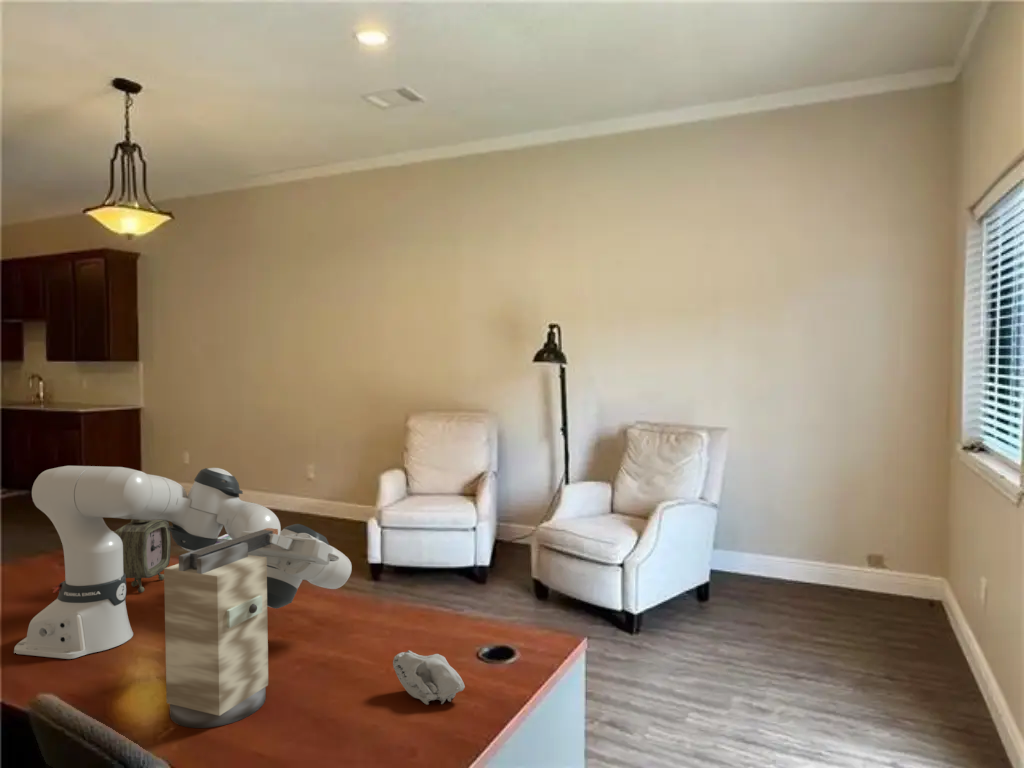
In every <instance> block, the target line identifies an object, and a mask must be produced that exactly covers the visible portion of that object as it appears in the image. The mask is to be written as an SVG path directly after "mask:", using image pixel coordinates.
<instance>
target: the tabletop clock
mask: <svg viewBox="0 0 1024 768" xmlns="http://www.w3.org/2000/svg"><path fill="white" fill-rule="evenodd" d="M169 522H170V521H168V520H136V519H130V522H128V523H126V524H124V525H123V526H121V527H119V528H118V529H116V530H114V531H113V532H114V533H116V534H117V535H118V536H119V537H120V538H121V540H122V543H123V572H124V573H125V574H126V579H133V580H132V582H131V583H130V584H131V587H132V588H133V587H134V588H135V586H136V587H137V586H138V588H137V592H138V593H139V594H143V593H144V591H145V588H144V586H143V585H142V579H151V578H153V577H155V576H158V580H159V581H164V573H162V572H164V568H167V567H169V564H170V561H171V551H172V550H171V545H172V540H171V531H169V530H168V526H170V523H169Z"/></svg>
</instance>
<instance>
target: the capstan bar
mask: <svg viewBox="0 0 1024 768" xmlns="http://www.w3.org/2000/svg"><path fill="white" fill-rule="evenodd" d="M269 533H271V534H276V535H278V529H273V528H266V529H263V530H260V531H257V532H254V533H251V534H248V535H245V536H242V537H239V538H236V539H233V540H230V541H227V542H224V543H221V544H218V545H215V546H211V547H208V548H205V549H202V550H199V551H196V552H193V553H190V568H196V569H197V558H199V557H202V556H205V555H208V554H211V553H214V552H217V551H220V550H223V549H225V548H228V547H231V546H234V545H237V544H240V543H243V542H244V543H248V552H251V551H253V550H256V549H259V548H262V547H264V546H267V545H270V544H269V543H267V542H266V538H267V535H268V534H269Z"/></svg>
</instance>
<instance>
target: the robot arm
mask: <svg viewBox="0 0 1024 768" xmlns="http://www.w3.org/2000/svg"><path fill="white" fill-rule="evenodd" d="M193 481H194V482H193V483H192V485H191V488H190V490H189V492H188V494H187V491H186V489H185V487H184V486H183V485H181V484H180V483H178V482H177V481H175V480H173V479H170V478H168V477H165V476H161V475H156V474H149V473H146V472H144V471H141V470H137V469H134V468H130V467H123V466H102V465H101V466H100V465H99V466H98V465H97V466H95V465H92V466H91V465H64V466H58V467H54V468H49V469H46V470H44V471H42V472H41V473H40V474H38V476H37V477H36V479H35V480H34V482H33V485H32V487H31V498H32V502H33V504H34V506H35V507H36V508H37V509H38V510H40V511H41V512H42V513H43V514H45V515H46V517H47V518H48V519H49V520H50V521H51V522H52V524H53V526H54V528H55V530H56V532H57V534H58V536H59V539H60V541H61V543H62V544H61V545H62V549H63V556H64V557H63V559H64V571H65V574H64V576H65V577H64V579H65V580H63V581H62V582H61V583H59V584H58V585H56V586H54V587H52V589H54V590H53V592H52V593H57V592H58V596H57V598H56V599H54V601H52V602H50V604H49V605H47V606H46V607H45V608H43V609H42V610H41V611H39V612H38V613H37V614H36V615H35V616H34V617H33V618H32V619H31V620H30V622H29V624H28V628H27V633H26V637H25V638H23V639H22V640H20V641H19V642H18V643H16V645H15V646H14V649H13V654H15V653H16V654H17V655H25V656H36V657H45V658H54V659H66V660H71V659H72V660H73V659H77V658H79V657H83V656H85V655H89V654H94V653H97V652H98V653H99V652H102V651H103V652H104V651H107V650H109V649H110V650H111V649H113V648H116V647H118V646H120V645H123V644H125V643H127V642H128V641H130V640H131V639H132V638H133V637H134V632H133V630H132V627H131V623H130V620H129V616H128V610H127V605H126V604H127V602H126V598H127V578H126V574H125V573H124V572H123V543H122V540H121V538H120V537H119V536H118V535H117V534H116V533H114V532H115V531H113V530H112V529H110V527H108V525H107V524H106V521H105V520H104V518H111V519H112V518H113V519H123V520H132V519H136V520H167V521H168V522H171V524H172V525H169V526H168V530H169V531H170V535H171V536H172V539H173V541H174V542H175V544H176V545H177V546H179V547H181V548H182V549H183V550H185V551H187V552H192V551H195V550H198V549H201V548H204V547H207V546H210V545H213V544H215V543H216V542H217V540H218V537H219V536H220V534H221V531H222V530H223V528H224V529H225V530H224V531H225V532H226V534H228V535H229V536H230V537H231V539H232V540H233V539H236V538H239V537H242V536H245V535H248V534H251V533H254V532H257V531H260V530H263V529H266V528H273V529H278V535H276V534H271V533H269V534H268V535H267V538H266V542H267V543H269V544H270V545H267V546H264V547H262V548H259V549H256V550H253V551H251V552H248V555H253V556H260V557H267V608H268V607H269V608H273V609H276V610H277V609H280V608H283V607H286V606H287V605H289V604H291V603H292V602H293V601H294V598H295V596H296V595H297V592H298V589H299V587H300V585H301V584H302V582H303V580H304V581H306V582H308V583H309V584H312V585H314V586H317V587H320V588H324V589H328V590H330V589H331V590H336V589H339V588H341V587H342V586H344V585H345V584H346V583H347V581H348V580H349V578H350V576H351V574H352V567H353V566H352V562H351V560H350V559H349V557H348V556H346V555H345V554H344V553H343V552H342V551H340V550H338V549H337V548H336V547H334V546H332V545H330V543H329V541H328V539H327V537H326V536H324V535H323V534H321V533H320V532H318V531H315V530H314V529H312V528H311V527H308V526H306V525H303V524H301V523H295V524H291V525H288V526H285V527H283V529H281V522H280V520H279V517H278V516H277V514H275V512H273V511H272V510H271V509H269V508H267V507H266V506H264V505H262V504H259V503H255V502H249V501H246V500H245V501H244V500H242V499H241V498H240V495H243V494H244V493H243V490H241V489H240V484H239V481H238V479H237V478H236V476H235V475H233V474H231V473H230V472H229V471H227V470H226V469H223V468H220V467H209V468H208V467H207V468H206V467H205V468H202V469H201V470H200V471H199V472H198V473H197V475H196V476H195V478H194V479H193Z"/></svg>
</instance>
